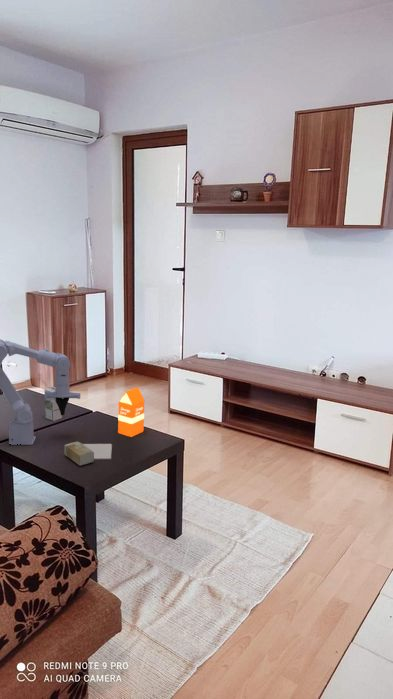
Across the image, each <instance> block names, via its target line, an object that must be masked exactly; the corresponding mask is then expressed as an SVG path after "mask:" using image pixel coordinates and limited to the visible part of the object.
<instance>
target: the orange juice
mask: <svg viewBox="0 0 393 699" xmlns="http://www.w3.org/2000/svg"><path fill="white" fill-rule="evenodd" d="M117 420H118V424H117V428H118V429H117V433H118V434H121V435H124V436H126V437H131V438H132V437H134V436H136V435H139V434H140V433H143V432H144V428H145V427H144V426H145V425H144V422H145V399H144V397H143V395H142V393H141V390H140V389H139V387H134V388H131V389H128V390H126V391H125V392H124V394H123V395H122V397H121V398H120V400H119V401H118V416H117Z"/></svg>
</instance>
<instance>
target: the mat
mask: <svg viewBox="0 0 393 699" xmlns="http://www.w3.org/2000/svg"><path fill="white" fill-rule="evenodd" d="M82 444H83V445H84V446H86V447H87V448H89V449H90V450H92V451H93V452H94V460H112V451H113V450H112V447H113V444H112V443H82Z"/></svg>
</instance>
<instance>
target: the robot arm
mask: <svg viewBox="0 0 393 699" xmlns="http://www.w3.org/2000/svg"><path fill="white" fill-rule="evenodd" d="M14 355H19V356H24V357H28V358H32V359H35V360H36V362H37V363H38V364H42V365H45V366H48V367H52V368H54V367H55V374H54V378H55V380H54V381H55V382H54V385H55V386H54V387H55V392H51V393H45V392H44V395H43V396H44V400H45V399H47V398H56V400H55V401H56V403H57V405H58V407H59V410H60V413H61V415H62V416H65V415H66V414H65V412H66V407H67V405H68V402H69V400H70V399H77V400H78V399H79V400H80V399H81V392H72V391H70V368H71V361H70V359H69V358H68V356H67V355H65V354H64V353H59V352H53V351H50V350H49V348H45V349H39V350H36V349H33V348H31V347H27V346H24V345H21V344H18V343H15V342H12V341H9V340H5V341H4V340H2V339H1V338H0V391H1V392H2V394H3V395H4V397H5V398H6V399H7V401H8V402H9V404H10V405H11V407H12V409H13V411H14V413H15V416H16V418H15V419H14V420H10V421H9V424H8V445H9V444H11V445H10V446H21V445H22V446H24V445H25V446H26V445H27V446H31V445H34V442H35V441H36V438H37V437H36V435H34V414H33V412H32V406H31V404H29V403H28V402H26V401H25V400H24V398H22V396H21V395H20V394H19V392H18V391H17V389H16V388H15V386H14V384H13V383H12V382H11V380H10V378H9V377H8V375H7V373H5V371H4V369H3V368H2V367H1V366H2V363H3V361H4V360H5V359H6V357H7V356H8V357H11V356H14ZM17 444H18V445H17ZM20 444H21V445H20Z"/></svg>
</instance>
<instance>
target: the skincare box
mask: <svg viewBox="0 0 393 699" xmlns="http://www.w3.org/2000/svg"><path fill="white" fill-rule="evenodd" d="M83 444H84V443H81V442H79V441H74V442H70V443H67V444H64V446H63V447H64V451H63V452H64V453H63V454H64V455H65V456H66V457H68V458H69V459H70V460H71V461H73V462H74V463H75V464H77V465H78V466H80V467H81V466H84V465H88V464H91V463H94V461H95V459H94V452H93V451H92V450H90V449H89V448H87V447H86V446H84V445H83Z"/></svg>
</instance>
